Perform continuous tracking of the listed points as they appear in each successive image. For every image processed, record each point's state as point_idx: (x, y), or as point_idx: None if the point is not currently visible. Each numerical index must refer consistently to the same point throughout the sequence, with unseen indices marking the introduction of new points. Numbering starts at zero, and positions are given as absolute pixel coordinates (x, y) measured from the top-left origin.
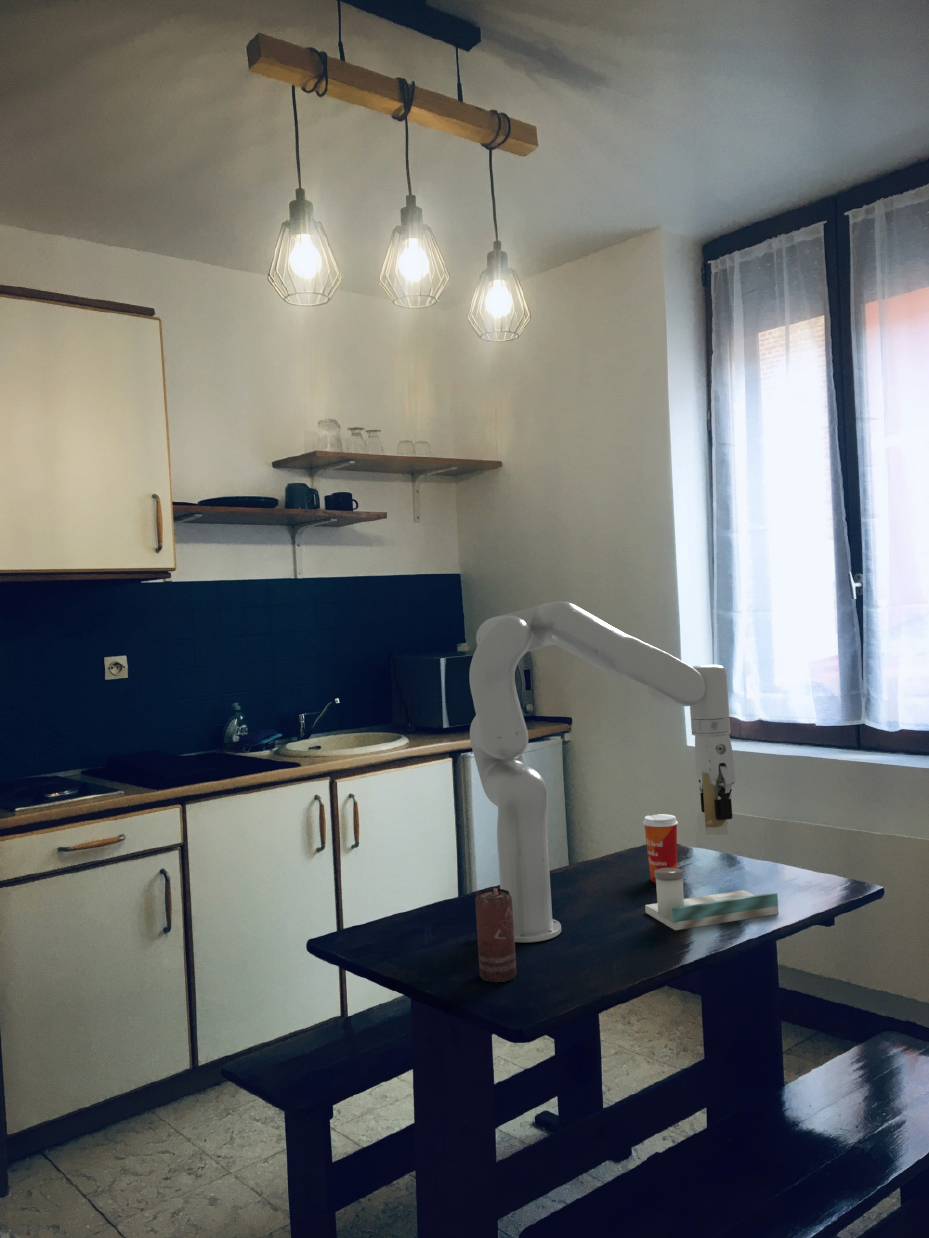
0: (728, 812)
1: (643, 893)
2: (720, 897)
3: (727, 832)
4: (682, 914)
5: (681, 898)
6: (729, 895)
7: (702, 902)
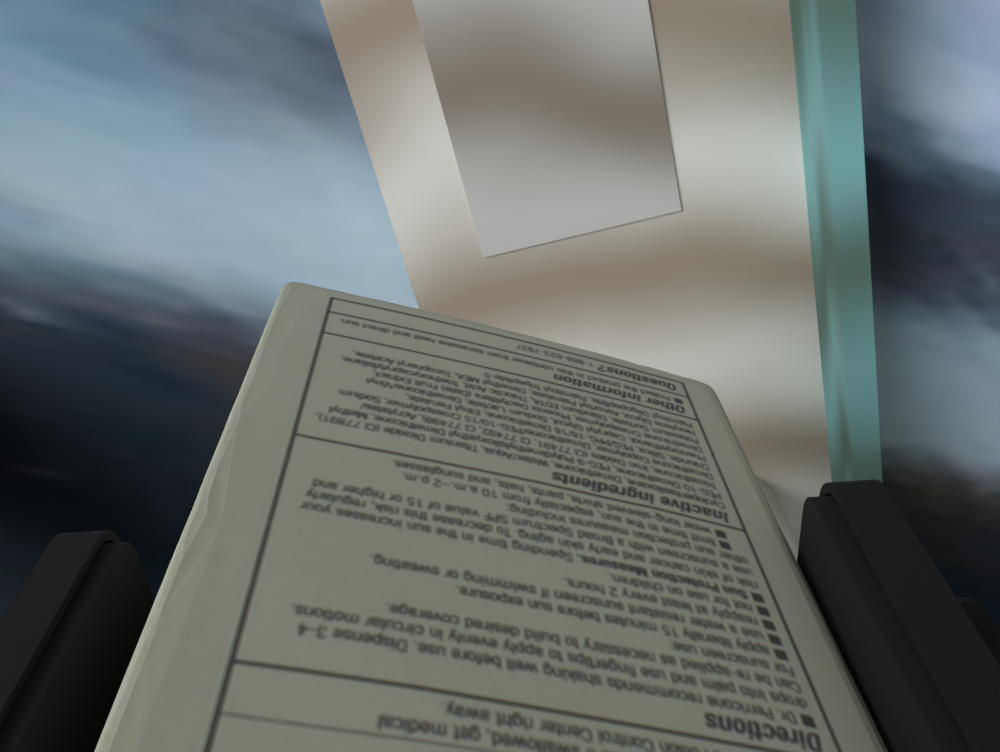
0: (984, 633)
1: (143, 531)
2: (476, 185)
3: (720, 404)
4: None
5: (797, 550)
6: (427, 101)
7: (552, 325)
